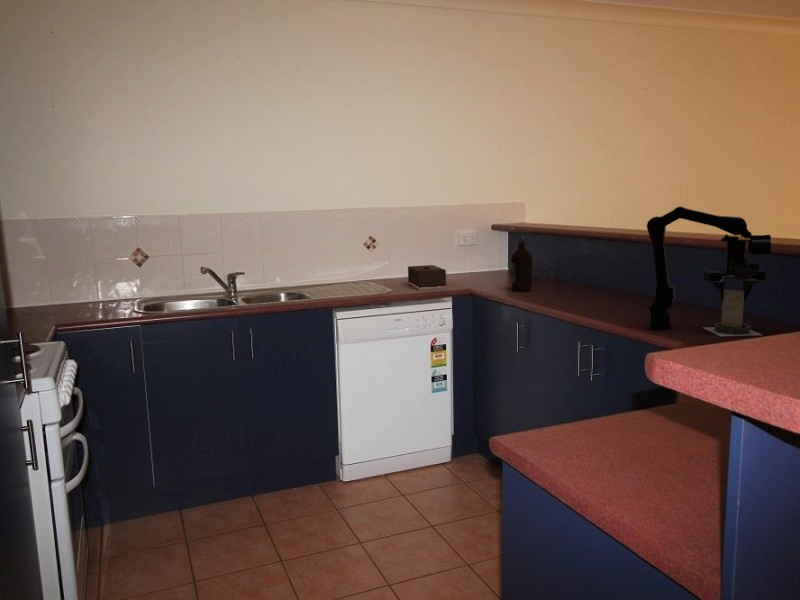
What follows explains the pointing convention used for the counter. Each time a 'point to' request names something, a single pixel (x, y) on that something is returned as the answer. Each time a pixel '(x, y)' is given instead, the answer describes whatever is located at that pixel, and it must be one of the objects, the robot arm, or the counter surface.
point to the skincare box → (732, 308)
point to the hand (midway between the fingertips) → (733, 300)
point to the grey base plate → (731, 334)
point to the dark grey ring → (732, 329)
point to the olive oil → (521, 269)
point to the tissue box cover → (427, 276)
